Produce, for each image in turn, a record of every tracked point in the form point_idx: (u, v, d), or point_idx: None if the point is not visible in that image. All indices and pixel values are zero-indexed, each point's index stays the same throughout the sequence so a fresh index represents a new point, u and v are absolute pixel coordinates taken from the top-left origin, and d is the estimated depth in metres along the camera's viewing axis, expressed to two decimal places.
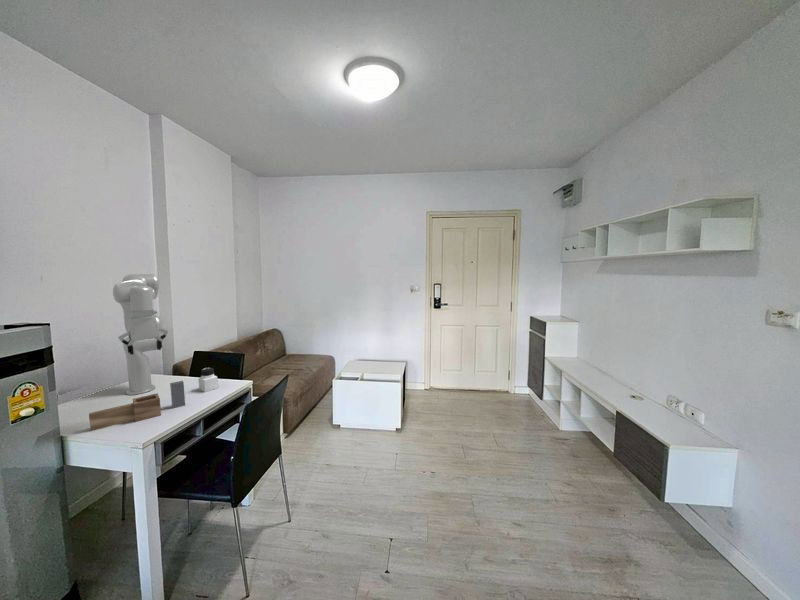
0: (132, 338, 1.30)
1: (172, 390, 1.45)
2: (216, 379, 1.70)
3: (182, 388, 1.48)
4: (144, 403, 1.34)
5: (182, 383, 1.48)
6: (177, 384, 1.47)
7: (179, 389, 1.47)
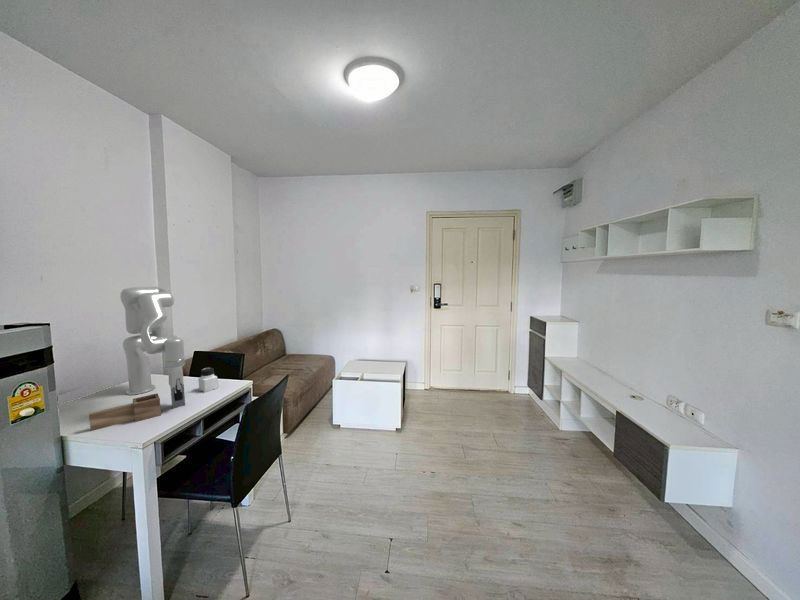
0: None
1: (172, 390, 1.45)
2: (216, 379, 1.70)
3: (182, 388, 1.48)
4: (144, 403, 1.34)
5: None
6: None
7: None
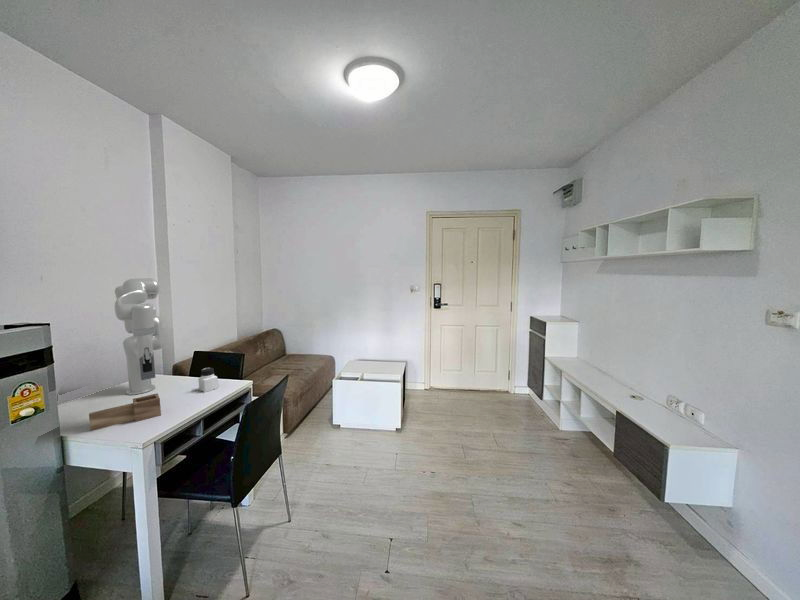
0: (152, 353, 1.36)
1: (140, 360, 1.35)
2: (216, 379, 1.70)
3: (152, 359, 1.38)
4: (144, 403, 1.34)
5: None
6: None
7: None
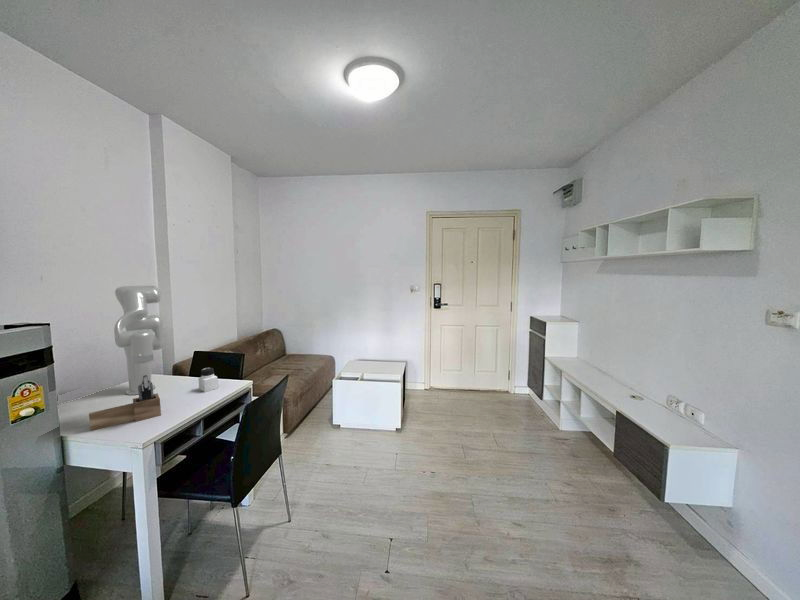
0: None
1: (139, 392, 1.35)
2: (216, 379, 1.70)
3: (151, 390, 1.38)
4: (144, 403, 1.34)
5: (151, 384, 1.38)
6: None
7: None
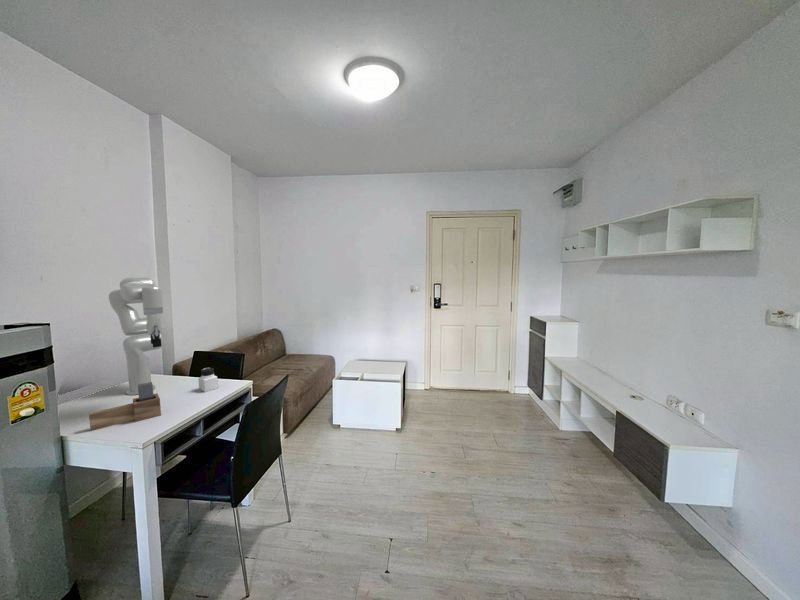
0: None
1: (139, 392, 1.35)
2: (216, 379, 1.70)
3: (151, 390, 1.38)
4: (144, 403, 1.34)
5: (151, 384, 1.38)
6: (145, 386, 1.37)
7: (147, 391, 1.37)
